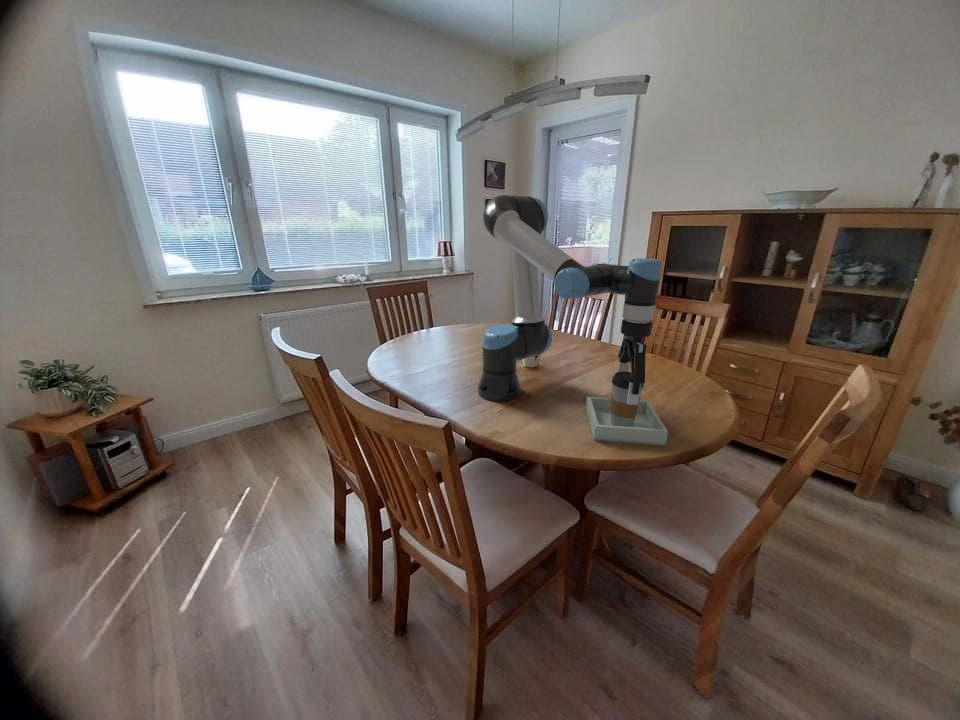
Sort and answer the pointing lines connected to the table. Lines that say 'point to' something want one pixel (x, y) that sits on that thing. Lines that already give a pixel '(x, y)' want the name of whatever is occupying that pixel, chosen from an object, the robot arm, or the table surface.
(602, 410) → the tray
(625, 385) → the coffee cup
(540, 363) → the table surface
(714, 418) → the table surface
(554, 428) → the table surface
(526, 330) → the robot arm
